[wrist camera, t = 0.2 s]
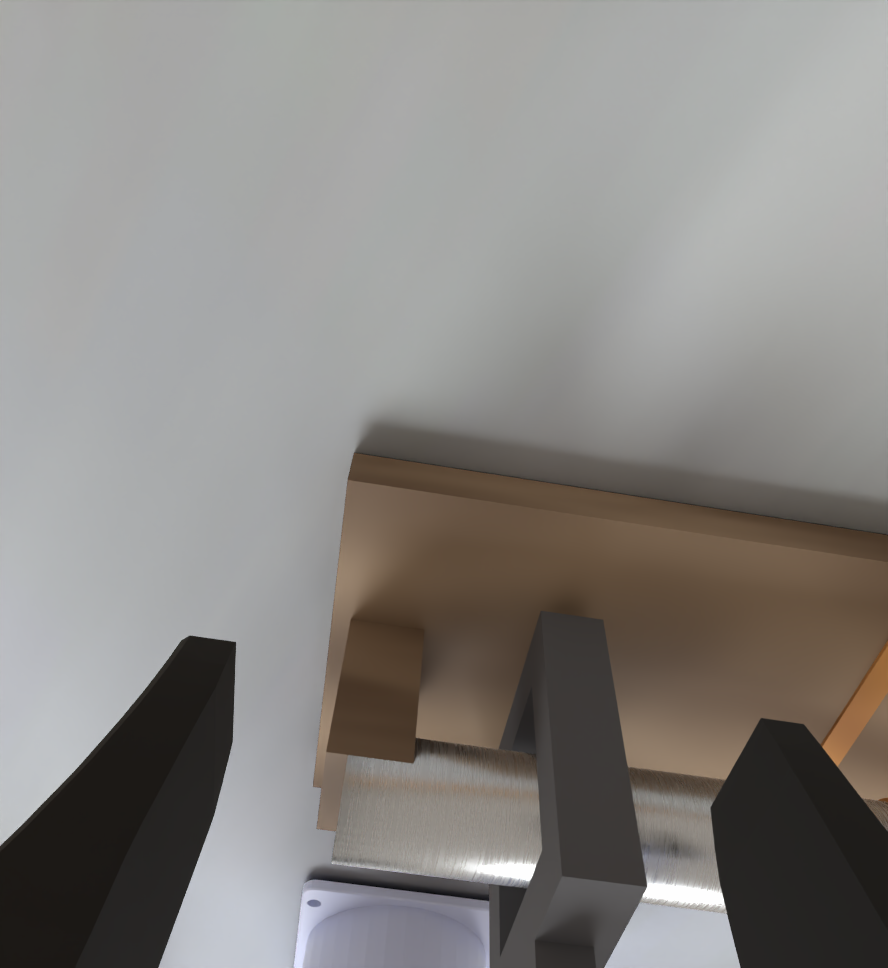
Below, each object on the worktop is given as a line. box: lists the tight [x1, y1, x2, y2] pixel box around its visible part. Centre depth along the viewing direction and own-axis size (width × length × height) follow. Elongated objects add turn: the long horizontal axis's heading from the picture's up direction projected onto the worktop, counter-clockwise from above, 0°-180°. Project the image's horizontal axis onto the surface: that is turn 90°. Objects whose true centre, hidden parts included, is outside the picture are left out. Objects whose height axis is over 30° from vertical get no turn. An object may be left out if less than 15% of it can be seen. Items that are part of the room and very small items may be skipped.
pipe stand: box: [313, 453, 888, 914], centre depth 22 cm, size 12×22×7 cm, turn 81°
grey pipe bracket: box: [489, 611, 648, 968], centre depth 20 cm, size 7×2×8 cm, turn 171°
